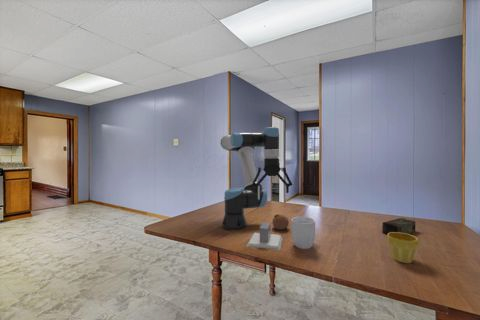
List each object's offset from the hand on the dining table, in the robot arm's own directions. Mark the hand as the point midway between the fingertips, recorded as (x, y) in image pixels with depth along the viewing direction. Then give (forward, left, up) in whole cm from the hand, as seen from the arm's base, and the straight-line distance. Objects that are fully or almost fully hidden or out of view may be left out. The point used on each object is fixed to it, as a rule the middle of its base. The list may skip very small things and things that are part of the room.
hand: (272, 199), depth 113 cm
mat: (-3, -4, -21) cm, 22 cm away
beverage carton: (+67, +26, -22) cm, 75 cm away
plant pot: (+55, -8, -22) cm, 59 cm away
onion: (+3, +16, -22) cm, 27 cm away
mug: (+16, -4, -22) cm, 27 cm away
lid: (-3, -4, -21) cm, 21 cm away
